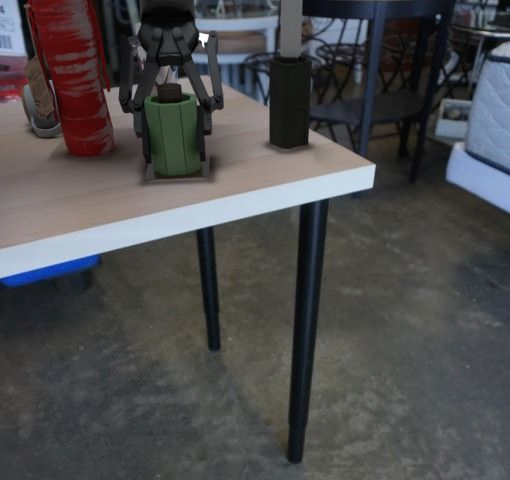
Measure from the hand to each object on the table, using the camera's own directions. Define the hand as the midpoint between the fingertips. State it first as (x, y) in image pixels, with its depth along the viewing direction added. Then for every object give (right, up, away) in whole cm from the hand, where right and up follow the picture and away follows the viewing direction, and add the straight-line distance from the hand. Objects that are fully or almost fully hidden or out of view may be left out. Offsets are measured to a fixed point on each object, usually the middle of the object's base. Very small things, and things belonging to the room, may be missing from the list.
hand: (174, 157), depth 72 cm
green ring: (0, 0, +4) cm, 4 cm away
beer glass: (-6, +19, +29) cm, 35 cm away
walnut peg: (0, -1, +5) cm, 5 cm away
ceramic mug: (-25, +16, +25) cm, 39 cm away
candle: (+16, +6, +13) cm, 22 cm away
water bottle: (-16, +5, +12) cm, 21 cm away
